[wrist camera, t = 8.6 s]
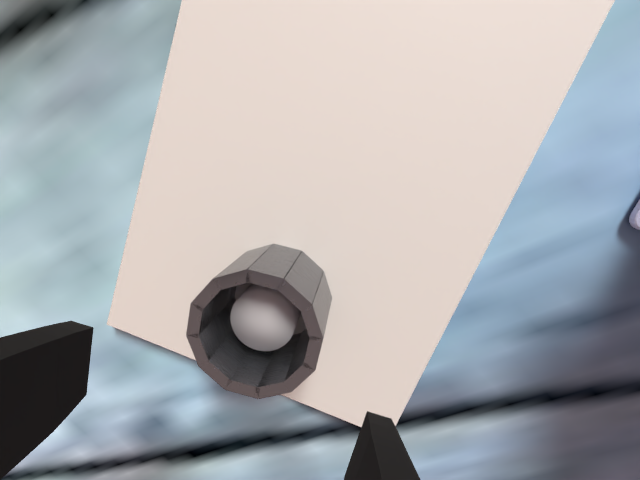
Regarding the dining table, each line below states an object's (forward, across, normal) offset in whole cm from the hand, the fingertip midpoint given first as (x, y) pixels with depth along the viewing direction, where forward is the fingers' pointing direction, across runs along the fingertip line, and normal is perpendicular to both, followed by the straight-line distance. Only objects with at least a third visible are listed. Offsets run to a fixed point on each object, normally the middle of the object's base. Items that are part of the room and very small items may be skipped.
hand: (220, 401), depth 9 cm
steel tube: (+8, 0, +1) cm, 9 cm away
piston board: (+9, 0, -6) cm, 11 cm away
